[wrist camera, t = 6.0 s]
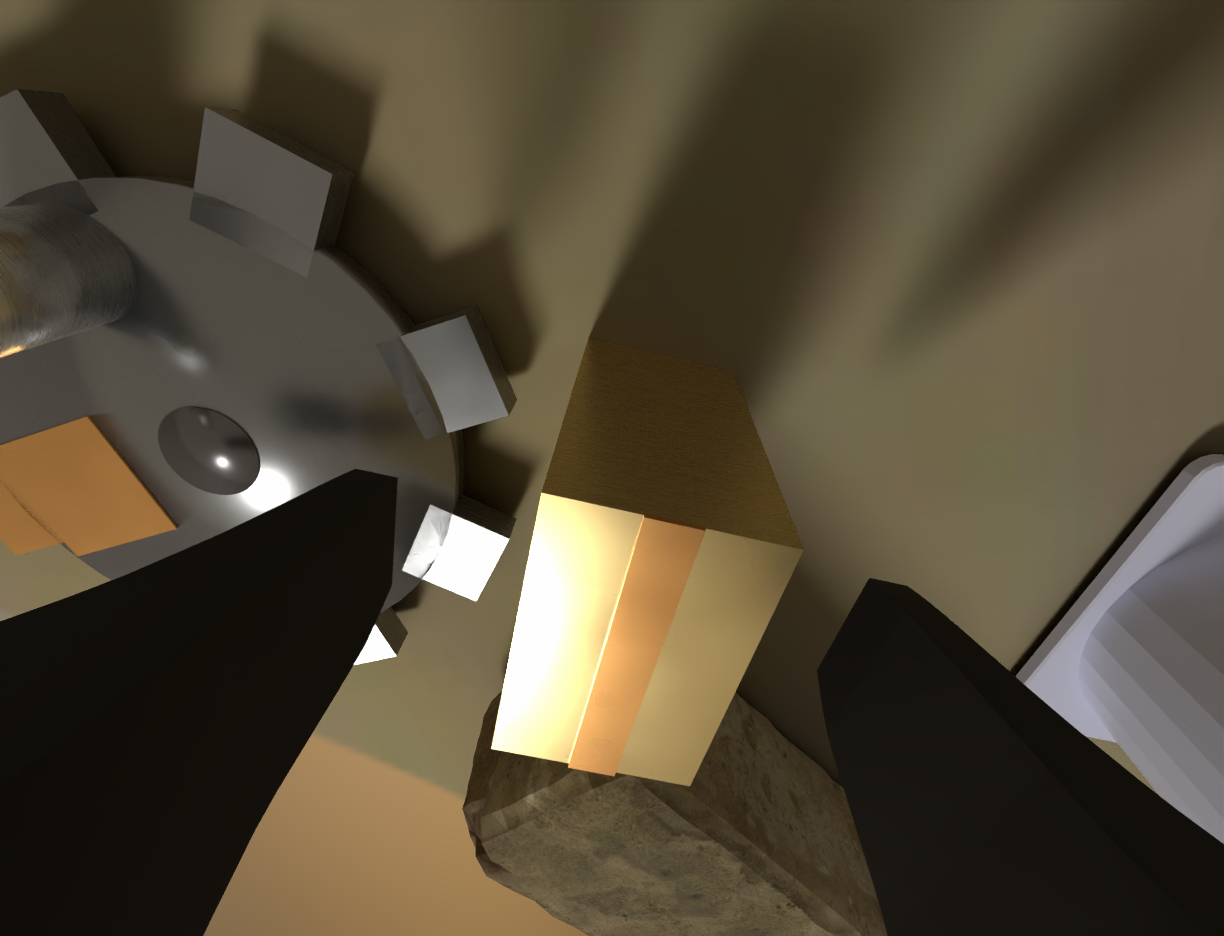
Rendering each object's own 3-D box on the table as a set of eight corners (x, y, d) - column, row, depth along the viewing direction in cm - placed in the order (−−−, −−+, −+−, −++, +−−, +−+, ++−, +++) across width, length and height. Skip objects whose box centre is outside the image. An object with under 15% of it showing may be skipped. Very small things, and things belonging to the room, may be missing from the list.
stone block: (625, 579, 15) (617, 762, 10) (875, 792, 18) (948, 993, 14) (479, 684, 17) (421, 872, 12) (729, 856, 21) (753, 1048, 16)
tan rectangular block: (733, 371, 12) (805, 552, 6) (672, 546, 14) (689, 790, 9) (588, 336, 12) (540, 494, 6) (550, 520, 14) (490, 752, 8)
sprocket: (334, -35, 9) (83, -182, 5) (597, 591, 14) (580, 757, 10) (-233, 233, 11) (-710, 278, 7) (182, 681, 16) (40, 844, 13)
